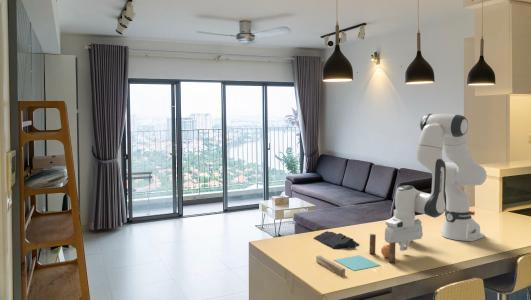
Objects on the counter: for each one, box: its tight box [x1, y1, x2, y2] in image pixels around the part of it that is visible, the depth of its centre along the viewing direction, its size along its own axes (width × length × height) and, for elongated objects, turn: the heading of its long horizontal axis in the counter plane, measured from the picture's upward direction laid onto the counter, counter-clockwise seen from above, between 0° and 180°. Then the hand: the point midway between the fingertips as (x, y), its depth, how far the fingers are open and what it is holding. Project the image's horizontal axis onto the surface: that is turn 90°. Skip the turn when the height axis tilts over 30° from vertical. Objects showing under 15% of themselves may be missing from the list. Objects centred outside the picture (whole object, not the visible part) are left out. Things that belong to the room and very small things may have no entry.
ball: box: [380, 244, 389, 258], centre depth 189 cm, size 6×6×6 cm
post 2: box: [388, 241, 397, 265], centre depth 182 cm, size 3×3×9 cm
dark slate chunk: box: [313, 230, 360, 251], centre depth 211 cm, size 15×22×5 cm
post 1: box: [369, 233, 377, 256], centre depth 193 cm, size 3×3×9 cm
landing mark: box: [333, 254, 381, 272], centre depth 181 cm, size 14×14×1 cm
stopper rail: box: [315, 255, 346, 277], centre depth 175 cm, size 2×18×2 cm, turn 26°
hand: (403, 250), depth 193 cm, fingers closed
